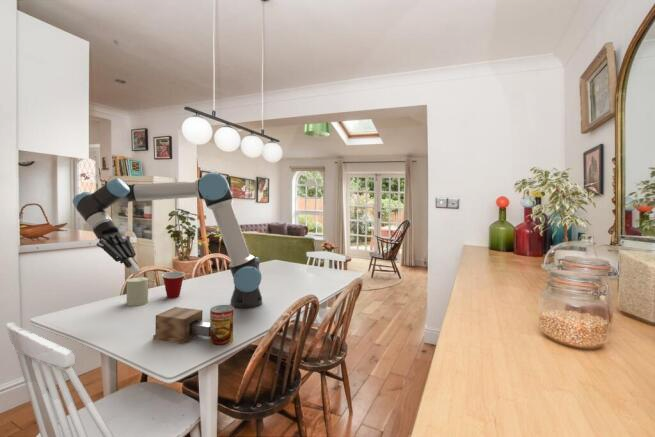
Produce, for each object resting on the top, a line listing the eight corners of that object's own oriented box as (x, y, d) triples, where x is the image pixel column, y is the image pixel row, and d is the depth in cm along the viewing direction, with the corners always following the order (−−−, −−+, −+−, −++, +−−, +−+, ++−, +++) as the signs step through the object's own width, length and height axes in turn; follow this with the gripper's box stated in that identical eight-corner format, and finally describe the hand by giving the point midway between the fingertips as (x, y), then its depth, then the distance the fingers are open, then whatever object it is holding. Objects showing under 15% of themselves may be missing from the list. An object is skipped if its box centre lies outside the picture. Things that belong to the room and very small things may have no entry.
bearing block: (153, 339, 113) (153, 315, 113) (174, 327, 124) (175, 306, 123) (184, 343, 110) (184, 319, 110) (204, 331, 121) (204, 309, 120)
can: (138, 306, 147) (138, 281, 147) (121, 305, 149) (121, 279, 148) (152, 301, 156) (152, 277, 156) (136, 299, 158) (136, 275, 158)
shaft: (158, 332, 116) (158, 319, 116) (167, 327, 121) (167, 315, 120) (207, 339, 111) (208, 326, 111) (215, 334, 116) (215, 321, 116)
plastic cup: (160, 300, 157) (160, 276, 157) (162, 294, 167) (162, 272, 167) (184, 298, 162) (184, 275, 161) (184, 293, 171) (185, 271, 171)
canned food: (208, 347, 108) (208, 312, 107) (211, 337, 116) (212, 305, 115) (232, 345, 110) (232, 311, 109) (234, 336, 117) (234, 304, 117)
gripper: (112, 231, 131) (145, 275, 128) (81, 234, 119) (116, 283, 116) (123, 219, 130) (156, 263, 127) (92, 221, 117) (128, 270, 114)
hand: (137, 272), depth 121 cm, fingers closed
